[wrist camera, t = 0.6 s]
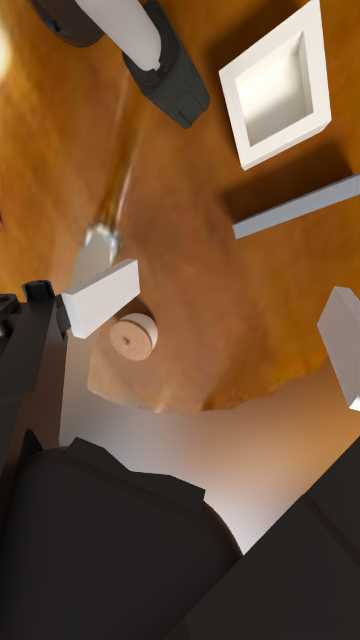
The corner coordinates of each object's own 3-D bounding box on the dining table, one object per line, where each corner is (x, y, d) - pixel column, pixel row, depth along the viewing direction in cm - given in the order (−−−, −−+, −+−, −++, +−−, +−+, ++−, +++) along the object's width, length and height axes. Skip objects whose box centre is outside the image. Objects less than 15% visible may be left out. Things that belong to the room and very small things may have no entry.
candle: (193, 64, 29) (18, -257, 8) (213, 102, 30) (101, -96, 10) (166, 98, 31) (-16, -80, 11) (185, 133, 33) (51, 28, 12)
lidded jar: (119, 316, 56) (96, 335, 48) (147, 299, 50) (125, 317, 43) (143, 347, 58) (125, 370, 51) (172, 334, 53) (156, 357, 45)
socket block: (225, 89, 29) (218, 71, 25) (309, 28, 24) (318, -6, 20) (244, 170, 32) (241, 166, 28) (321, 131, 28) (331, 120, 24)
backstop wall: (237, 221, 36) (232, 225, 31) (353, 174, 29) (371, 170, 24) (240, 233, 37) (236, 239, 32) (355, 190, 29) (372, 189, 25)
